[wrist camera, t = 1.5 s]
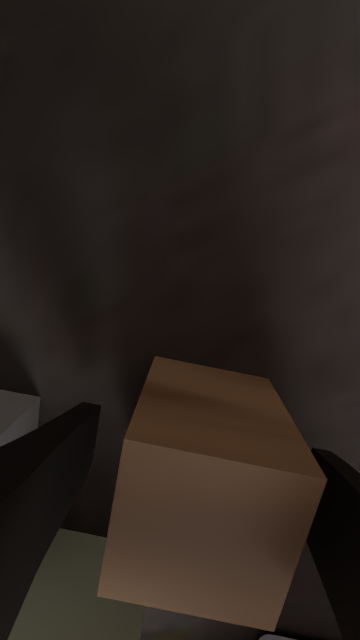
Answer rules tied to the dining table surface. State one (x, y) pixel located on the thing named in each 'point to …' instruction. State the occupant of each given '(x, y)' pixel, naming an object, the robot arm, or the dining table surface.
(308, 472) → the walnut block
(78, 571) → the sage block
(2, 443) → the grey square block
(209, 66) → the dining table surface
